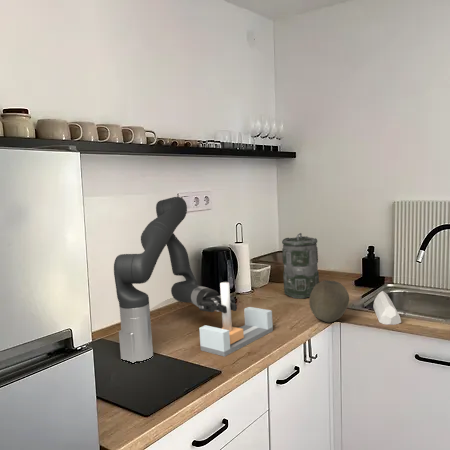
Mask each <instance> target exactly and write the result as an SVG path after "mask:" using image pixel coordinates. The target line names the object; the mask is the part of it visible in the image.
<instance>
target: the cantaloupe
mask: <svg viewBox="0 0 450 450" xmlns="http://www.w3.org/2000/svg"><path fill="white" fill-rule="evenodd" d="M349 302H350V294H349V292H348V290H347V289H346V287H345V286H344V284H341V283H340V282H339V281H335V280H322V281H319V283H318V284H316V285H315V287H314V288H313V290H312V292H311V294H310V297H309V308H310V310H311V313H312V314H313V316H314V317H315V318H316V319H318V320H319V321H323V322H324V323H326V324H327V323H333V322H336V321H337V320H339V319H340V318H341V317H342V316H344V314H345V312H346V311H347V309H348V306H349Z"/></svg>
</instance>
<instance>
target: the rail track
mask: <svg viewBox="0 0 450 450" xmlns="http://www.w3.org/2000/svg"><path fill="white" fill-rule="evenodd" d="M243 312H244V315H243V316H244V325H242V326H239V328H241V329H243V334H244V338H242V339H240V340H238V341H236V342H234V343H232V344H230V335H229V330H225V329H221V328H222V327H221V328H220V327H216V326H210V325H205V324H204V325H203V326H201V327H199V343H200V351H202V352H206V353H209V354H213V355H218V356H222V357H224V358H225V357H227V356H228V355H231V354H233V353H234V352H236V351H238V350H240V349H242V348H244V347H246V346H247V345H249V344H251V343H253V342H255V341H257V340H258V339H261V338H262V337H265V336H267V335H268V334H270V333H272V332H273V331H274V328H273V311H272V310H270V309H265V308H258V307H253V306H248V307H245V308H243Z"/></svg>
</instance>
